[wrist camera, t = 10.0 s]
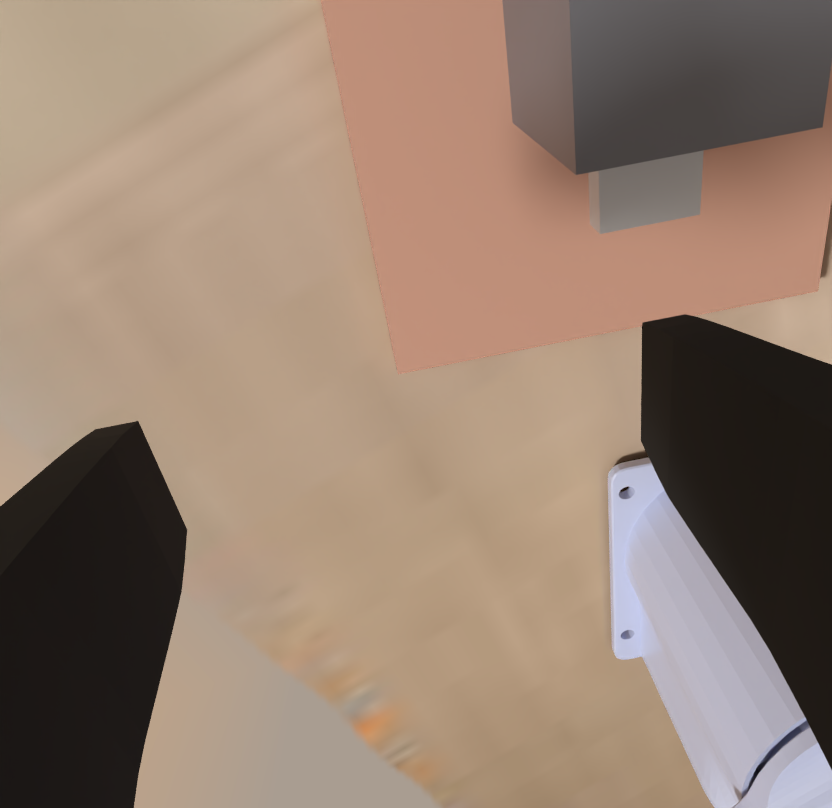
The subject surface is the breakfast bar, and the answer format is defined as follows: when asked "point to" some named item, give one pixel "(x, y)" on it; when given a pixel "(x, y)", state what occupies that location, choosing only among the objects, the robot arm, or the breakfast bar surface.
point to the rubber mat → (540, 201)
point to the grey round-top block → (661, 90)
